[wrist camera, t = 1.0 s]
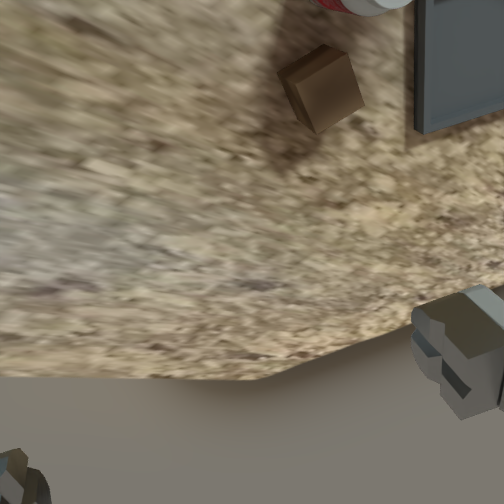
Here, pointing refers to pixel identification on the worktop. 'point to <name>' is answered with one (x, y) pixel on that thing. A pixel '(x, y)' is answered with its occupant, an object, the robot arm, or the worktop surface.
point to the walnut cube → (321, 88)
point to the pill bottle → (361, 6)
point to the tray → (457, 61)
